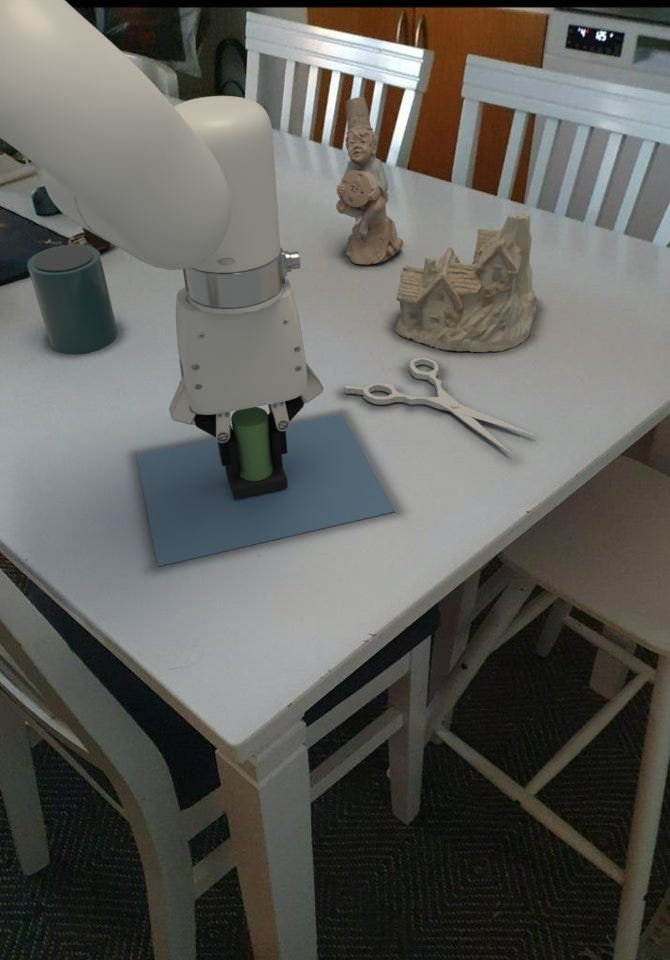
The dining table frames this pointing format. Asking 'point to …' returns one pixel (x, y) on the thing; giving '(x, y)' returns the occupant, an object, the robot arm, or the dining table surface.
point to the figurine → (365, 192)
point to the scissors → (431, 399)
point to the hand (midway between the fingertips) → (254, 462)
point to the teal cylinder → (73, 298)
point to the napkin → (262, 517)
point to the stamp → (254, 455)
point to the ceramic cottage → (473, 294)
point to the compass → (88, 240)
